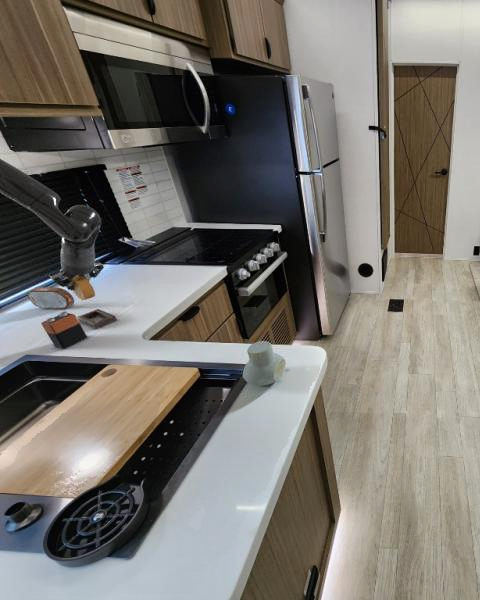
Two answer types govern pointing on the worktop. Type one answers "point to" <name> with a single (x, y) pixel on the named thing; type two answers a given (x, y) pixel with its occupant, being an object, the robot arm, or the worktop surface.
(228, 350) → the worktop surface
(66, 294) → the tin
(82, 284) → the tape roll
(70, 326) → the battery
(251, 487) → the worktop surface
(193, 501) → the worktop surface
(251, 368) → the air freshener
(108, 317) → the tape holder
